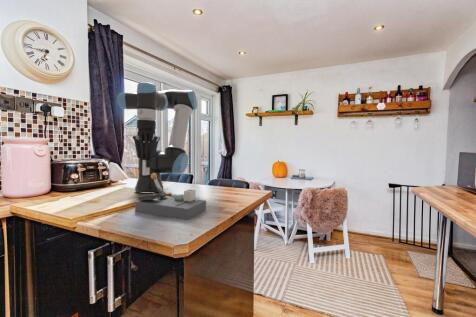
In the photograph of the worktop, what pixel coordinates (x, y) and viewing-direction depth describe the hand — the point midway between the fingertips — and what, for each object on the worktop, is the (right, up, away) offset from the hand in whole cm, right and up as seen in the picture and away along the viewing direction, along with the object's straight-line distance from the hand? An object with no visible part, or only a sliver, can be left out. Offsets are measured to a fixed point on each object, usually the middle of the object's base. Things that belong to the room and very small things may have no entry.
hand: (146, 174), depth 103 cm
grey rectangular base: (+13, -14, -6) cm, 20 cm away
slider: (+20, -10, -5) cm, 23 cm away
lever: (+8, -8, -2) cm, 12 cm away
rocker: (+4, -8, -7) cm, 12 cm away
